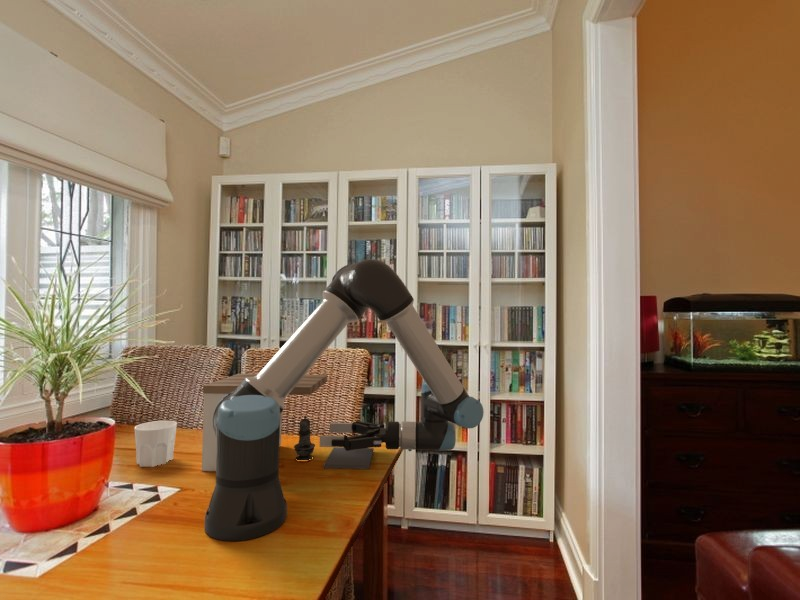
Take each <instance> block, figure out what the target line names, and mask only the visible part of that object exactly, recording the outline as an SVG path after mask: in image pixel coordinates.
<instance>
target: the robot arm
mask: <svg viewBox="0 0 800 600" xmlns="http://www.w3.org/2000/svg"><path fill="white" fill-rule="evenodd" d="M321 295H322V301H321V303H319V305H317V307H316V308H315V309H314V310H313V311H312V313H310V315H309V316H308V317H307V318H306V319H305V320H304V321H303V323H302V324H301V325H300V326H299V328H297V329H296V330H295V332H294V333H293V334H292V335H291V336H290V337H289V339H287V341H286V342H285V343H284V344H283V345H282V346H281V348H279V350H278V351H277V352H276V353H275V354H274V355H273V356H272V358H271V359H270V360H269V361H268V362H267V363H266V365H264V367H263V368H262V369H261V370H260V371H259V372H258V373H256V374H257V375H256V376H254V377H247V378H245V379H244V380H243V381H242V382H241V383H240V385H239V386H238V387H237V388H236V389H235V390H234V391H233V392H231V393H229V394H227V395H226V396H225V397H223V398H222V399H221V400H220V402H219V403H218V405H217V406H216V408H215V411H214V415H213V428H214V431H215V435H216V440H217V460H216V471H215V486H214V490H213V492H212V494H211V498H210V501H209V505H208V508H207V509H206V512H205V514H204V532H205V533H206V534H207V535H208V536H209V537H210V538H213V539H214V540H215V539H216V540H219V541H224V542H226V541H228V542H235V541H236V542H237V541H238V542H239V541H240V542H241V541H246V540H251V539H256V538H259V537H263V536H266V535H268V534H270V533H272V532H275V531H276V530H277V529H279V527H281V526H282V525H283V524H284V523H285V521H286V520H287V517H288V513H287V512H288V503H287V501H286V498H285V496H284V491H283V488H282V485H281V481H280V478H279V475H280V473H279V472H280V470H279V469H280V448H279V437H280V421H281V422H282V418H281V412H282V413H283V411H284V410H285V399H286V398H287V397H288V396H289V395H288V394H289V393H290V392H291V391H292V389H293V388H294V387H295V386H296V385H297V383H298V382H299V381H300V380H301V379H302V378H303V376H304V375H307V373H308V372H309V370H310V369H311V368H312V367H313V366H314V365H315V364H316V362H317V361H318V360H319V359H320V357H321V356H322V355H323V354H324V353H325V351H326V350H327V349H328V348H329V347H330V345H332V343H333V342H334V341H335V340H336V338H337V337H338V336H339V335H340V334H341V332H343V330H344V329H345V328H346V327H347V326H348V325H349V324H350V323H357V322H358V321H360V319H361V318H362V317H363V315H364V314H366V312H368V310H371V311H372V312H373V313H374V314H375V316H376V317H377V319H378V321H380V322H382V323H386V325H387V326H388V328H389V329H390V331H391V332H392V334H393V335H394V337H395V338H396V340H397V341H398V343H399V345H400V346H401V348H402V349H403V350H404V352H405V354H406V355H407V357H408V358H409V360H410V362H411V363H412V364H413V366H414V367H415V369H416V371H417V372H418V374H419V376H421V378H422V380H423V381H422V383H421V391H420V392H421V393H420V400H421V404H420V406H421V407H420V409H421V416H420V417H421V418H420V419H421V421H404V420H403V421H401V422H399V421H395V420H394V421H387V422H386V424H383V423H382V424H380V423H374V422H373V423H372V422H366V421H358V420H355V422H330V423H329V433H335V434H336V433H338V434H339V433H344V435H320V436H319V448H334V447H335V448H345V450H346V451H348V450H356V449H363V448H381V447H382V444H383V443H384V444H385V448H386V450H398V449H400V450H407V451H408V452H411V451H412V450H417V451H418V450H419V451H437V452H439V451H451V450H454V449H455V447H456V426H455V425H457V426H458V427H460V428H461V427H462V428H464V429H465V428H466V429H474V428H476V427H477V426H478V425H480V423H481V422H482V421H483V418H484V413H485V412H484V406H483V404H482V403H481V401H479V400H478V399H477V398H475V397H473V396H471V395H469V394H468V391H466V389H465V387H464V386H463V384H462V382H461V381H460V379H459V378H458V376H457V374H456V373H455V372H454V369H453V368H452V366H451V365H450V363H449V362H448V360H447V359H446V357H445V355H444V353H443V352H442V351H441V349H440V347H439V345H438V344H437V343H436V340H435V339H434V337H433V336H432V334H431V333H430V331H429V329H428V328H427V327H426V324H425V323H424V321H423V320H422V318H421V317H420V315H419V313H418V312H417V310H416V308H415V307H414V302H415V301H414V300H415V299H414V297H413V295H412V294H411V293H410V291H409V289H408V288H407V286H406V284H405V283H404V282H403V280H402V279H401V277H400V276H399V275H398V274H397V272H395V270H394V269H393V268H392V267H391V266H390V265H388V264H387V263H386V262H384V261H381V260H379V259H375V258H371V259H370V258H369V259H364V260H361V261H359V262H354V263H349V264H347V265H344V266H342V267H340V268H339V269H338V270H337V271H336V272H335V273H334V275H333V276H332V278H331V281H330V283H329V284H328V286H327V287H326V288H325V289H324V290H323V291H322V294H321ZM345 433H346V434H353V435H352V436H348V435H346V434H345ZM356 433H357V434H356ZM354 434H356V435H354Z"/></svg>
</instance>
